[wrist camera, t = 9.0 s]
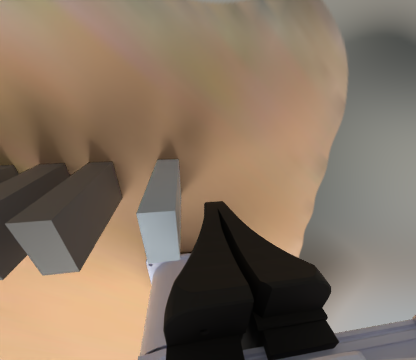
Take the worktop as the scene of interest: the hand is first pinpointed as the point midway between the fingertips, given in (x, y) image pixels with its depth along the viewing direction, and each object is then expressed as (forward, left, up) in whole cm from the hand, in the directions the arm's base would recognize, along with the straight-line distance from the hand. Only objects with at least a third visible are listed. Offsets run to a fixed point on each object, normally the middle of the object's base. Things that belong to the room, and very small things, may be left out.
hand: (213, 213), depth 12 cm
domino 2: (0, +9, -6) cm, 11 cm away
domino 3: (0, +3, -6) cm, 7 cm away
